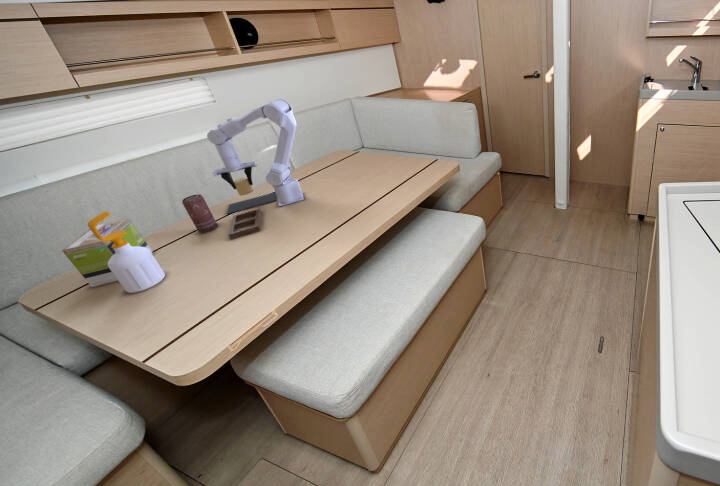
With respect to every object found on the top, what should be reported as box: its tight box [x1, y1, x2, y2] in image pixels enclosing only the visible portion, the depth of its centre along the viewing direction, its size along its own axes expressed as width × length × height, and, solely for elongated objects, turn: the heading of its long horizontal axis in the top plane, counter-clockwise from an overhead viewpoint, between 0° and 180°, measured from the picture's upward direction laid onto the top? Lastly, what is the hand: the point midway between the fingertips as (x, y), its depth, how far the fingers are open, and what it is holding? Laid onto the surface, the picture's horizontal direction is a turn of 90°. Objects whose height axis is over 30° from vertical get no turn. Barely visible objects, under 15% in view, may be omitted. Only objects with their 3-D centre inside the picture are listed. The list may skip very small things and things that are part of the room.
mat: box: [226, 191, 278, 215], centre depth 154 cm, size 18×10×1 cm, turn 122°
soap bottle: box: [87, 211, 166, 294], centre depth 103 cm, size 9×9×25 cm
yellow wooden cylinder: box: [233, 176, 254, 196], centre depth 148 cm, size 5×5×6 cm
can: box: [181, 193, 218, 234], centre depth 134 cm, size 6×6×14 cm
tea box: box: [61, 217, 154, 288], centre depth 113 cm, size 15×10×15 cm, turn 22°
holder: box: [228, 207, 263, 240], centre depth 136 cm, size 9×17×2 cm, turn 32°
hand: (243, 186), depth 148 cm, fingers closed on yellow wooden cylinder, 5 cm apart
